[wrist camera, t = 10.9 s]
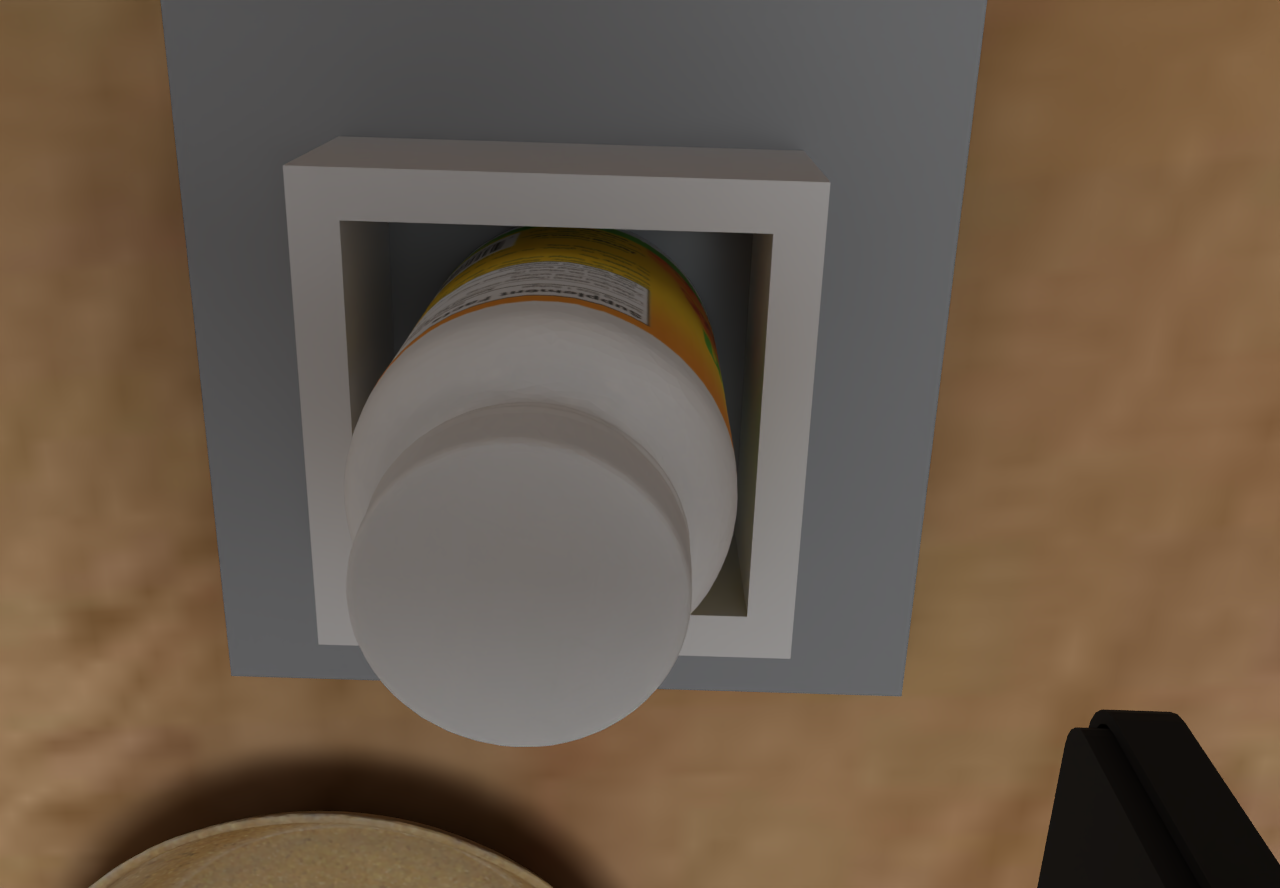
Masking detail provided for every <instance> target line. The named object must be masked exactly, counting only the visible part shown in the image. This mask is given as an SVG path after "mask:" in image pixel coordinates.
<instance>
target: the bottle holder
mask: <svg viewBox="0 0 1280 888" xmlns="http://www.w3.org/2000/svg"><path fill="white" fill-rule="evenodd" d="M986 5H987V0H161V10H162V19H163V29H164V38H165V48H166V57H167V67H168V76H169V86H170V95H171V105H172V114H173V124H174V133H175V143H176V152H177V162H178V171H179V181H180V190H181V200H182V210H183V219H184V229H185V238H186V248H187V257H188V267H189V276H190V286H191V295H192V305H193V314H194V324H195V333H196V343H197V352H198V362H199V371H200V381H201V390H202V400H203V409H204V419H205V429H206V438H207V448H208V457H209V467H210V476H211V486H212V495H213V505H214V514H215V524H216V533H217V543H218V552H219V562H220V571H221V581H222V590H223V600H224V609H225V619H226V628H227V638H228V648H229V657H230V667H231V676H254V677H287V678H320V679H353V680H380V679H379V678H378V676H377V675H376V674H375V673H374V671H373V670H372V668H371V666H370V665H369V663H368V662H367V660H366V658H365V657H364V654H363V652H362V650H361V648H360V646H359V644H358V642H357V640H356V637H355V635H354V632H353V629H352V625H351V621H350V617H349V611H348V603H347V596H346V578H347V569H348V562H349V556H350V552H351V549H352V545H353V542H352V539H351V535H350V532H349V527H348V522H347V516H346V509H345V496H344V478H345V468H346V461H347V456H348V452H349V448H350V444H351V440H352V436H353V433H354V429H355V427H356V425H357V422H358V420H359V417H360V415H361V412H362V410H363V407H364V405H365V404H366V402H367V400H368V398H369V396H370V394H371V392H372V390H373V389H374V387H375V385H376V383H377V382H378V380H379V379H380V377H381V376H382V374H383V373H384V371H385V370H386V369H387V367H388V366H389V365H390V363H391V362H392V360H393V359H394V357H395V356H396V354H397V353H398V352H399V350H400V349H401V347H402V346H403V344H404V343H405V341H406V340H407V338H408V337H409V335H410V333H411V332H412V330H413V329H414V327H415V326H416V324H417V323H418V321H419V320H420V318H421V317H422V315H423V314H424V312H425V311H426V309H427V307H428V306H429V305H430V303H431V302H432V300H433V299H434V297H435V296H436V294H437V293H438V291H439V290H440V288H441V287H442V285H443V284H444V283H445V281H446V280H447V279H448V277H449V276H450V275H451V274H452V273H453V271H454V270H455V269H456V268H457V267H458V266H459V265H460V264H461V263H462V262H463V261H464V260H465V259H466V258H467V257H468V256H469V255H470V254H471V253H473V252H474V251H475V250H476V249H477V248H479V247H480V246H481V245H483V244H484V243H486V242H488V241H489V240H491V239H493V238H494V237H496V236H498V235H500V234H502V233H504V232H506V231H508V230H511V229H513V228H516V227H518V226H536V227H568V228H600V229H624V230H626V231H629V232H631V233H633V234H636V235H637V236H639V237H641V238H643V239H645V240H646V241H648V242H650V243H651V244H653V245H654V246H656V247H657V248H658V249H660V250H661V251H662V252H663V253H665V254H666V255H667V256H668V257H669V258H670V259H671V260H672V261H674V262H675V263H676V265H677V266H678V267H679V268H680V269H681V270H682V271H683V272H684V273H685V275H686V276H687V278H688V279H689V280H690V282H691V283H692V285H693V286H694V288H695V290H696V291H697V293H698V295H699V296H700V299H701V301H702V303H703V305H704V307H705V310H706V312H707V315H708V318H709V321H710V324H711V327H712V330H713V334H714V338H715V343H716V349H717V354H718V359H719V366H720V371H721V376H722V381H723V387H724V393H725V399H726V407H727V413H728V419H729V425H730V430H731V436H732V442H733V449H734V455H735V461H736V472H737V495H738V499H737V515H736V520H735V526H734V531H733V536H732V540H731V543H730V547H729V550H728V553H727V556H726V558H725V560H724V563H723V565H722V568H721V570H720V572H719V574H718V576H717V578H716V580H715V581H714V583H713V585H712V587H711V588H710V590H709V592H708V593H707V595H706V596H705V597H704V599H703V600H702V601H701V603H700V604H699V605H698V607H697V608H696V609H695V610H694V611H693V612H692V613H691V615H690V620H689V625H688V629H687V633H686V636H685V639H684V642H683V645H682V648H681V651H680V653H679V655H678V657H677V659H676V661H675V663H674V665H673V667H672V668H671V670H670V672H669V673H668V675H667V676H666V678H665V679H664V681H663V682H662V683H661V685H660V686H659V687H658V688H657V689H681V690H714V691H747V692H779V693H812V694H845V695H878V696H901V695H902V687H903V679H904V671H905V663H906V655H907V647H908V639H909V630H910V622H911V614H912V606H913V598H914V590H915V582H916V574H917V565H918V557H919V549H920V541H921V533H922V525H923V517H924V509H925V500H926V492H927V484H928V476H929V468H930V460H931V452H932V444H933V436H934V427H935V419H936V411H937V403H938V395H939V387H940V379H941V371H942V362H943V354H944V346H945V338H946V330H947V322H948V314H949V306H950V297H951V289H952V281H953V273H954V265H955V257H956V249H957V241H958V233H959V224H960V216H961V208H962V200H963V192H964V184H965V176H966V168H967V159H968V151H969V143H970V135H971V127H972V119H973V111H974V103H975V94H976V86H977V78H978V70H979V62H980V54H981V46H982V38H983V30H984V21H985V13H986Z"/></svg>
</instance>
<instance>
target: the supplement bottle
mask: <svg viewBox="0 0 1280 888" xmlns="http://www.w3.org/2000/svg"><path fill="white" fill-rule="evenodd" d="M344 496H345V509H346V516H347V522H348V527H349V532H350V535H351V539H352V542H353V545H352V549H351V552H350V556H349V562H348V569H347V578H346V596H347V603H348V611H349V617H350V621H351V625H352V629H353V632H354V635H355V637H356V640H357V642H358V644H359V646H360V648H361V650H362V652H363V654H364V657H365V658H366V660H367V662H368V663H369V665H370V666H371V668H372V670H373V671H374V673H375V674H376V675H377V676H378V678H379V679H380V680H381V682H382V683H383V684H384V685H385V687H386V688H387V689H388V690H389V691H390V692H391V693H392V694H393V695H394V696H395V697H396V698H397V699H399V700H400V701H401V702H402V703H404V704H405V705H406V706H407V707H409V708H410V709H411V710H413V711H414V712H415V713H417V714H418V715H419V716H420V717H422V718H424V719H426V720H428V721H430V722H431V723H433V724H435V725H437V726H439V727H441V728H443V729H445V730H447V731H449V732H452V733H454V734H457V735H460V736H463V737H466V738H469V739H472V740H476V741H480V742H485V743H491V744H495V745H500V746H512V747H538V746H550V745H556V744H561V743H566V742H570V741H574V740H578V739H581V738H583V737H586V736H589V735H591V734H594V733H596V732H599V731H601V730H603V729H605V728H608V727H609V726H611V725H613V724H615V723H616V722H618V721H620V720H621V719H623V718H624V717H626V716H627V715H629V714H630V713H631V712H633V711H634V710H636V709H637V708H638V707H639V706H640V705H641V704H642V703H644V702H645V701H646V700H647V699H648V698H649V697H650V696H651V694H652V693H653V692H654V691H655V690H656V689H657V688H658V687H659V686H660V685H661V683H662V682H663V681H664V679H665V678H666V676H667V675H668V673H669V672H670V670H671V668H672V667H673V665H674V663H675V661H676V659H677V657H678V655H679V653H680V651H681V648H682V645H683V642H684V639H685V636H686V633H687V629H688V625H689V620H690V615H691V613H692V612H693V611H694V610H695V609H696V608H697V607H698V605H699V604H700V603H701V601H702V600H703V599H704V597H705V596H706V595H707V593H708V592H709V590H710V588H711V587H712V585H713V583H714V581H715V580H716V578H717V576H718V574H719V572H720V570H721V568H722V565H723V563H724V560H725V558H726V556H727V553H728V550H729V547H730V543H731V540H732V536H733V531H734V526H735V520H736V515H737V499H738V495H737V472H736V461H735V455H734V449H733V442H732V436H731V430H730V425H729V419H728V413H727V407H726V399H725V393H724V387H723V381H722V376H721V371H720V366H719V359H718V354H717V349H716V343H715V338H714V334H713V330H712V327H711V324H710V321H709V318H708V315H707V312H706V310H705V307H704V305H703V303H702V301H701V299H700V296H699V295H698V293H697V291H696V290H695V288H694V286H693V285H692V283H691V282H690V280H689V279H688V278H687V276H686V275H685V273H684V272H683V271H682V270H681V269H680V268H679V267H678V266H677V265H676V263H675V262H674V261H672V260H671V259H670V258H669V257H668V256H667V255H666V254H665V253H663V252H662V251H661V250H660V249H658V248H657V247H656V246H654V245H653V244H651V243H650V242H648V241H646V240H645V239H643V238H641V237H639V236H637V235H636V234H633V233H631V232H629V231H626V230H624V229H600V228H568V227H536V226H518V227H516V228H513V229H511V230H508V231H506V232H504V233H502V234H500V235H498V236H496V237H494V238H493V239H491V240H489V241H488V242H486V243H484V244H483V245H481V246H480V247H479V248H477V249H476V250H475V251H474V252H473V253H471V254H470V255H469V256H468V257H467V258H466V259H465V260H464V261H463V262H462V263H461V264H460V265H459V266H458V267H457V268H456V269H455V270H454V271H453V273H452V274H451V275H450V276H449V277H448V279H447V280H446V281H445V283H444V284H443V285H442V287H441V288H440V290H439V291H438V293H437V294H436V296H435V297H434V299H433V300H432V302H431V303H430V305H429V306H428V307H427V309H426V311H425V312H424V314H423V315H422V317H421V318H420V320H419V321H418V323H417V324H416V326H415V327H414V329H413V330H412V332H411V333H410V335H409V337H408V338H407V340H406V341H405V343H404V344H403V346H402V347H401V349H400V350H399V352H398V353H397V354H396V356H395V357H394V359H393V360H392V362H391V363H390V365H389V366H388V367H387V369H386V370H385V371H384V373H383V374H382V376H381V377H380V379H379V380H378V382H377V383H376V385H375V387H374V389H373V390H372V392H371V394H370V396H369V398H368V400H367V402H366V404H365V405H364V407H363V410H362V412H361V415H360V417H359V420H358V422H357V425H356V427H355V429H354V433H353V436H352V440H351V444H350V448H349V452H348V456H347V461H346V468H345V478H344Z"/></svg>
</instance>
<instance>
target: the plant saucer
mask: <svg viewBox="0 0 1280 888" xmlns="http://www.w3.org/2000/svg"><path fill="white" fill-rule="evenodd" d="M88 888H554V887H552V886H551V885H550V884H549V883H547V882H546V881H545V880H543V879H542V878H541V877H539V876H538V875H536V874H534V873H533V872H531V871H530V870H528V869H526V868H525V867H523V866H521V865H520V864H518V863H516V862H515V861H513V860H511V859H510V858H508V857H506V856H504V855H502V854H500V853H498V852H496V851H494V850H492V849H490V848H488V847H485V846H483V845H481V844H479V843H476V842H474V841H472V840H469V839H467V838H464V837H462V836H459V835H456V834H453V833H451V832H448V831H445V830H442V829H438V828H435V827H432V826H428V825H425V824H421V823H417V822H413V821H409V820H404V819H399V818H394V817H388V816H382V815H375V814H367V813H357V812H346V811H301V812H287V813H277V814H269V815H262V816H255V817H249V818H244V819H239V820H234V821H229V822H225V823H221V824H217V825H213V826H210V827H206V828H202V829H199V830H196V831H193V832H190V833H187V834H184V835H180V836H178V837H175V838H173V839H170V840H167V841H165V842H162V843H160V844H157V845H155V846H153V847H151V848H149V849H147V850H145V851H143V852H142V853H140V854H138V855H136V856H134V857H133V858H131V859H129V860H127V861H125V862H123V863H122V864H120V865H118V866H117V867H115V868H114V869H112V870H111V871H109V872H108V873H107V874H105V875H104V876H103V877H102V878H100V879H99V880H98V881H96V882H95V883H93V884H92V885H91V886H90V887H88Z"/></svg>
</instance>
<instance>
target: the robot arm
mask: <svg viewBox="0 0 1280 888" xmlns="http://www.w3.org/2000/svg"><path fill="white" fill-rule="evenodd" d="M1037 888H1280V864H1279V863H1278V861H1277V860H1276V858H1275V857H1274V855H1273V854H1272V852H1271V851H1270V849H1269V848H1268V846H1267V845H1266V843H1265V842H1264V840H1263V839H1262V837H1261V836H1260V834H1259V833H1258V831H1257V830H1256V828H1255V827H1254V825H1253V824H1252V822H1251V821H1250V819H1249V818H1248V816H1247V815H1246V813H1245V812H1244V810H1243V809H1242V807H1241V806H1240V804H1239V803H1238V801H1237V800H1236V798H1235V797H1234V795H1233V794H1232V792H1231V791H1230V789H1229V788H1228V786H1227V785H1226V783H1225V782H1224V780H1223V779H1222V777H1221V776H1220V774H1219V773H1218V771H1217V770H1216V768H1215V767H1214V765H1213V764H1212V762H1211V761H1210V759H1209V758H1208V756H1207V755H1206V753H1205V752H1204V750H1203V749H1202V747H1201V746H1200V744H1199V743H1198V741H1197V740H1196V738H1195V737H1194V735H1193V734H1192V732H1191V731H1190V729H1189V728H1188V726H1187V725H1186V723H1185V722H1184V721H1183V720H1182V719H1181V718H1180V717H1179V716H1178V714H1175V713H1172V712H1157V711H1128V710H1100V711H1098V712H1096V713H1095V715H1094V716H1093V718H1092V719H1091V721H1090V725H1089V728H1074V729H1072V730H1071V731H1070V733H1069V734H1068V736H1067V740H1066V743H1065V748H1064V753H1063V758H1062V763H1061V768H1060V773H1059V779H1058V784H1057V789H1056V794H1055V799H1054V804H1053V810H1052V815H1051V820H1050V825H1049V830H1048V835H1047V841H1046V846H1045V851H1044V856H1043V861H1042V866H1041V872H1040V877H1039V882H1038V887H1037Z"/></svg>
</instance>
